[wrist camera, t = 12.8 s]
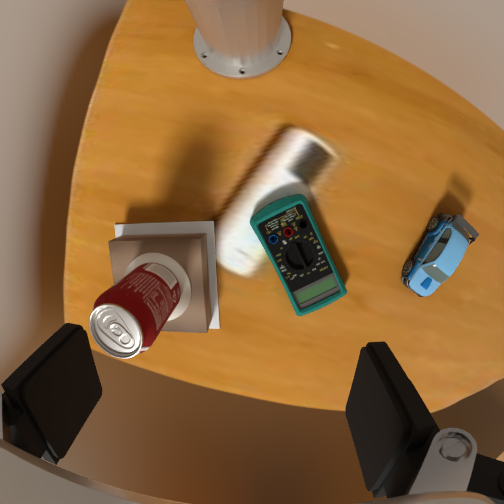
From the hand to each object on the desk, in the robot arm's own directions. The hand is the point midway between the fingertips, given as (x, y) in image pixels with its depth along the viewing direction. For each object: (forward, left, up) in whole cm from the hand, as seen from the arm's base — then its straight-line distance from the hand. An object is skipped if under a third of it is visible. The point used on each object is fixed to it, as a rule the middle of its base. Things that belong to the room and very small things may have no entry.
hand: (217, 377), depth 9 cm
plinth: (+7, -12, -30) cm, 33 cm away
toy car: (+4, +26, -30) cm, 40 cm away
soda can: (+6, -11, -26) cm, 29 cm away
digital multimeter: (+4, +6, -31) cm, 31 cm away
